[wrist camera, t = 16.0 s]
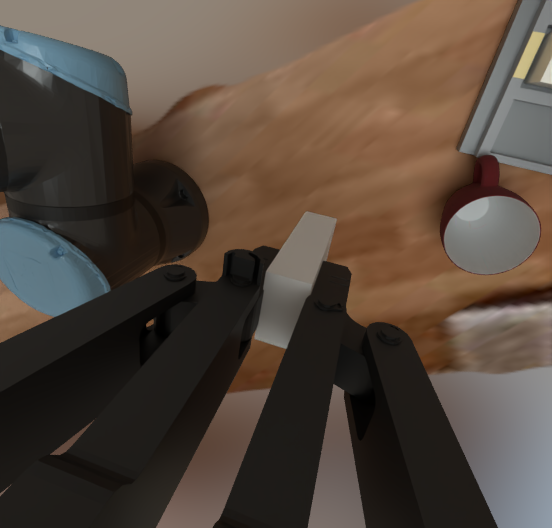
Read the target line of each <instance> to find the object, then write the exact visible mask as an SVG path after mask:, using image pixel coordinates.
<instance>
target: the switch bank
mask: <svg viewBox="0 0 552 528" xmlns="http://www.w3.org/2000/svg"><path fill="white" fill-rule="evenodd" d="M551 32H552V0H518V1H517V4H516V6H515V9H514V11H513V13H512V16H511V18H510V21H509V23H508V26H507V28H506V30H505V33H504V35H503V38H502V40H501V42H500V45H499V47H498V50H497V52H496V54H495V57H494V59H493V62H492V64H491V66H490V69H489V71H488V74H487V76H486V78H485V81H484V83H483V86H482V88H481V91H480V93H479V95H478V98H477V100H476V103H475V105H474V107H473V110H472V112H471V115H470V117H469V119H468V122H467V124H466V127H465V129H464V131H463V134H462V136H461V139H460V141H459V143H458V146H457V148H456V149H457V150H458V151H459V152H463V153H468V154H472V155H474V156H476V157H478V158H479V157H481V156H483V155H493V156H495V157H496V158H497V160H498V162H499V163H504V164H508V165H512V166H517V167H521V168H525V169H529V170H534V171H538V172H542V173H546V174H551V175H552V89H551V88H546V87H541V86H536V85H530V84H525V83H524V81H525V79H526V76H527V74H528V72H529V70H530V68H531V66H532V64H533V61H534V59H535V57H536V55H537V53H538V51H539V48H540V46H541V44H542V42H543V40H544V38H545V35H546V34H548V33H551Z"/></svg>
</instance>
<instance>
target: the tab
mask: <svg viewBox="0 0 552 528" xmlns="http://www.w3.org/2000/svg"><path fill="white" fill-rule="evenodd" d="M524 83H525V84H530V85H536V86H541V87H546V88H551V89H552V32H551V33H548V34H546V35H545V38H544V40H543V42H542V44H541V46H540V48H539V51H538V53H537V55H536V57H535V59H534V61H533V64H532V66H531V68H530V70H529V72H528V74H527V76H526V79H525V81H524Z"/></svg>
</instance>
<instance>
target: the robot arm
mask: <svg viewBox="0 0 552 528" xmlns="http://www.w3.org/2000/svg"><path fill="white" fill-rule="evenodd" d="M131 115H132V110H131V109H130V107H129V98H128V88H127V79H126V75H125V73H124V70H123V69H122V67H121V66H120V64H119V63H118V62H116V61H115V60H114V59H113V58H111V57H109V56H107V55H104V54H101V53H98V52H95V51H93V50H89V49H86V48H83V47H80V46H76V45H73V44H69V43H66V42H63V41H59V40H55V39H52V38H48V37H45V36H41V35H37V34H33V33H29V32H25V31H18V30H16V29H12V28H8V27H3V26H1V25H0V192H4V193H5V197H6V203H7V208H8V212H9V217H6V218H3V219H0V279H1V281H2V282H3V283H4V284H5V285H6V286H7V288H8V289H9V290H10V291H11V292H13V293H14V294H15V295H16V296H17V297H18V298H19V299H21V300H22V301H23V302H25V303H26V304H27V305H29V306H31V307H32V308H34V309H36V310H38V311H40V312H42V313H44V314H47V315H50V316H53V317H54V318H52V319H50V320H48V321H46V322H44V323H42V324H39V325H37V326H35V327H33V328H31V329H29V330H27V331H25V332H23V333H20V334H18V335H16V336H14V337H12V338H10V339H8V340H6V341H4V342H1V343H0V493H1V492H2V491H4V490H5V489H6V488H7V487H9V486H10V485H11V484H12V483H13V484H12V485H11V486H10V487H9V488H8V489H7V490H6V491H5V492H4V493H3V494H2V495H1V496H0V528H156V526H157V524H158V523H159V521H160V519H161V517H162V515H163V513H164V511H165V509H166V507H167V505H168V503H169V502H170V500H171V497H172V496H173V494H174V492H175V490H176V488H177V486H178V484H179V482H180V480H181V479H182V477H183V475H184V473H185V471H186V469H187V467H188V465H189V463H190V461H191V460H192V458H193V456H194V454H195V452H196V450H197V448H198V446H199V444H200V442H201V440H202V439H203V437H204V435H205V433H206V431H207V429H208V427H209V425H210V423H211V421H212V419H213V418H214V416H215V414H216V412H217V410H218V408H219V406H220V404H221V402H222V400H223V398H224V397H225V395H226V393H227V391H228V389H229V387H230V385H231V383H232V381H233V379H234V377H235V375H236V374H237V372H238V370H239V368H240V366H241V364H242V362H243V360H244V358H245V356H246V354H247V353H248V351H249V349H250V345H251V339H252V335H253V333H254V332H255V330H256V333H255V339H256V340H260V341H263V342H266V343H269V344H272V345H276V346H279V347H282V348H285V349H286V351H285V354H284V356H283V359H282V361H281V364H280V366H279V369H278V372H277V374H276V377H275V379H274V382H273V384H272V387H271V390H270V392H269V395H268V398H267V400H266V403H265V405H264V408H263V410H262V413H261V415H260V418H259V421H258V423H257V426H256V428H255V431H254V433H253V436H252V438H251V441H250V444H249V446H248V449H247V451H246V454H245V456H244V459H243V462H242V464H241V467H240V469H239V472H238V475H237V477H236V480H235V482H234V485H233V487H232V490H231V493H230V495H229V498H228V500H227V503H226V506H225V508H224V510H223V513H222V515H221V517H220V519H219V520H218V521H217V522H216V523H215V525H214V526H213V528H307V527H308V521H309V516H310V510H311V505H312V500H313V494H314V489H315V482H316V478H317V472H318V467H319V460H320V455H321V450H322V444H323V439H324V433H325V428H326V422H327V417H328V411H329V405H330V399H331V395H332V388H333V384H335V385H337V386H338V387H340V388H341V389H343V390H345V391H344V400H345V406H346V412H347V418H348V423H349V430H350V435H351V441H352V447H353V453H354V459H355V465H356V471H357V477H358V482H359V488H360V494H361V500H362V506H363V512H364V518H365V524H366V528H498V527H497V525H496V522H495V520H494V518H493V516H492V514H491V511H490V509H489V507H488V505H487V503H486V501H485V498H484V496H483V494H482V492H481V490H480V488H479V485H478V483H477V481H476V479H475V477H474V475H473V473H472V470H471V469H470V466H469V464H468V462H467V460H466V457H465V455H464V453H463V451H462V449H461V447H460V444H459V442H458V440H457V438H456V436H455V433H454V431H453V429H452V427H451V425H450V423H449V420H448V418H447V416H446V414H445V412H444V410H443V408H442V405H441V403H440V401H439V399H438V396H437V394H436V392H435V390H434V388H433V386H432V383H431V381H430V379H429V377H428V375H427V373H426V370H425V368H424V366H423V364H422V362H421V360H420V357H419V355H418V353H417V351H416V349H415V347H414V344H413V342H412V340H411V339H410V337H409V336H408V334H407V333H405V332H404V331H403V330H401V329H400V328H398V327H397V326H394V325H392V324H388V323H384V322H375V323H372V324H370V325H369V326H368V327H367V328H365V327H363V326H361V325H360V324H358V323H356V322H355V321H354V320H352V319H351V318H350V317H349V315H348V314H347V312H346V311H347V310H346V302H347V297H348V291H349V286H350V280H351V275H352V274H351V272H350V271H349V269H348V267H345V266H342V265H338V264H334V263H330V262H327V261H326V260H327V256H328V252H329V248H330V245H331V241H332V237H333V233H334V229H335V225H336V221H337V219H336V218H332V217H328V216H324V215H320V214H316V213H312V212H308V211H306V212H305V214H304V215H303V217H302V218H301V220H300V221H299V223H298V224H297V226H296V227H295V229H294V230H293V232H292V233H291V235H290V236H289V238H288V239H287V241H286V242H285V244H284V245H283V247H282V248H281V250H278V249H275V248H271V247H267V246H261V247H258V248H256V249H254V250H253V251H250V250H244V249H235V250H230V251H228V252H226V253H225V255H224V264H223V274H222V276H221V277H220V279H219V280H218V281H217V282H206V281H196V276H197V275H196V273H195V271H194V270H192V269H191V268H189V267H186V266H183V265H177V264H174V265H166V266H163V267H160V268H158V269H156V270H154V271H152V272H149V273H147V274H145V275H143V276H141V275H142V274H144V273H145V272H146V271H148V270H149V269H150V268H152V267H153V266H155V265H160V264H165V263H171V262H176V261H179V260H182V259H184V258H186V257H187V256H189V255H190V254H191V253H192V252H194V251H195V250H196V249H197V248H198V247H199V246H200V245H201V244H202V242H203V240H204V238H205V236H206V233H207V229H208V211H207V206H206V203H205V200H204V197H203V195H202V193H201V191H200V190H199V188H198V186H197V185H196V184H195V182H194V181H193V180H192V179H191V178H190V177H189V176H188V175H187V174H186V173H185V172H184V171H182V170H181V169H179V168H178V167H176V166H174V165H172V164H170V163H167V162H164V161H158V160H149V161H144V162H140V163H136V164H133V156H132V134H131ZM140 276H141V277H140ZM138 277H139V278H138ZM152 319H154V324H152V325H151V326H149V327H146V324H147V323H148V322H149V321H150V320H152ZM93 420H94V421H93ZM92 421H93V423H92V424H91V425H90V426H89V427H88V428H87V429H86V431H85V432H84V433H83V434H82V435H81V436H80V437H79V438H78V440H77V441H76V442H75V443H74V444H73V445H72V446H71V447H70V449H68V450H67V451H66V452H65V453H63V454H61V455H50V454H51V453H52V452H54V451H55V450H56V449H57V448H59V447H60V446H61V445H62V444H64V443H65V442H66V441H68V440H69V439H70V438H71V437H73V436H74V435H75V434H77V433H78V432H79V431H80V430H82V429H83V428H84V427H86V426H87V425H88V424H89V423H91V422H92Z"/></svg>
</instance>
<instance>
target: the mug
mask: <svg viewBox="0 0 552 528" xmlns="http://www.w3.org/2000/svg"><path fill="white" fill-rule="evenodd" d="M498 182H499V163H498V160H497V158H496V157H495V156H493V155H483V156H481V157H479V158H478V159H477V161H476V164H475V168H474V177H473V183H472V184H470V185H468V186H465V187H463V188H461V189H459V190H458V191H456V192H455V193H454V194H453V195H452V196H451V197H450V198H449V200H448V201H447V203H446V205H445V207H444V210H443V214H442V219H441V224H440V237H441V241H442V244H443V247H444V250H445V252H446V254H447V256H448V258H449V259H450V260H451V261H452V262H453V263H454V264H455V265H456V266H457V267H459V268H461V269H462V270H464V271H467V272H470V273H473V274H479V275H493V274H499V273H503V272H506V271H509V270H511V269H513V268H515V267H517V266H519V265H520V264H522V263H523V262H524V261H526V260H527V259H528V258H529V257H530V256H531V254H532V253H533V252H534V250H535V249H536V247H537V245H538V243H539V240H540V236H541V224H540V221H539V218H538V216H537V214H536V212H535V211H534V209H533V208H532V207H531V206H530V205H529V204H528V203H527V202H526V201H525V200H524V199H523V198H521V197H520V196H519V195H517V194H516V193H514V192H512V191H510V190H507V189H505V188H502V187H500V186H498Z"/></svg>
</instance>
